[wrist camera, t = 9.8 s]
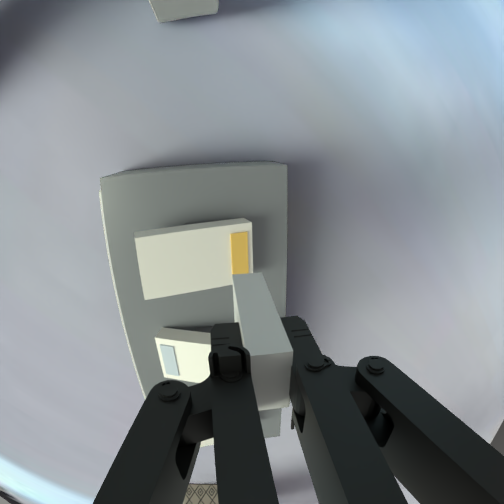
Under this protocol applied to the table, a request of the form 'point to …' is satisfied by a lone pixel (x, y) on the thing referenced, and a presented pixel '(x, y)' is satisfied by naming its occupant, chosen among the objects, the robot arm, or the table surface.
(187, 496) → the lamp
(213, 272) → the rocker
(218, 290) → the switch unit
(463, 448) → the robot arm
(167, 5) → the rounded white slab
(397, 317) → the table surface
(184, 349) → the rocker
